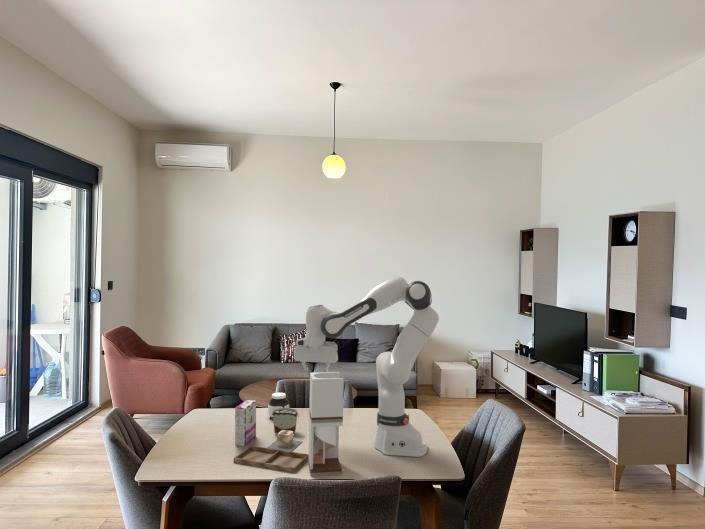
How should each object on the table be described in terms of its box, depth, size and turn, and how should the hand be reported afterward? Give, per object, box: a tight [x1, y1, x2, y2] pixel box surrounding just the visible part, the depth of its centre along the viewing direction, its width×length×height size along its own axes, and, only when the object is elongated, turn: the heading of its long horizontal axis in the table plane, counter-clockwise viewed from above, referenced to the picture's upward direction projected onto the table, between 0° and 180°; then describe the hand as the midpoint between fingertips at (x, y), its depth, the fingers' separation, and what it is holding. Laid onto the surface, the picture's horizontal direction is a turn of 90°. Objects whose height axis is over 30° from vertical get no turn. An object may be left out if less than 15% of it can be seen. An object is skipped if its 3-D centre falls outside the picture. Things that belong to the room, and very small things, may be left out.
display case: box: [307, 371, 345, 477], centre depth 169 cm, size 11×11×35 cm
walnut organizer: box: [233, 445, 309, 474], centre depth 174 cm, size 26×13×2 cm, turn 72°
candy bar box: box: [234, 399, 257, 447], centre depth 194 cm, size 11×5×16 cm, turn 168°
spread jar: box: [267, 392, 290, 420], centre depth 228 cm, size 12×11×12 cm
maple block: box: [276, 430, 294, 447], centre depth 190 cm, size 5×5×5 cm
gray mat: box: [266, 439, 303, 452], centre depth 189 cm, size 11×11×1 cm
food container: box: [272, 407, 300, 435], centre depth 206 cm, size 12×6×10 cm, turn 84°
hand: (315, 371), depth 203 cm, fingers open, 8 cm apart
